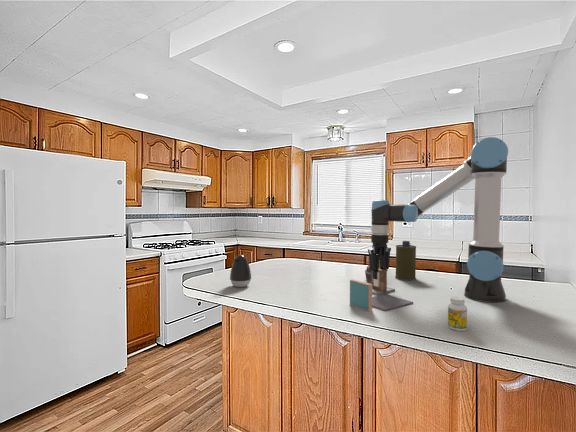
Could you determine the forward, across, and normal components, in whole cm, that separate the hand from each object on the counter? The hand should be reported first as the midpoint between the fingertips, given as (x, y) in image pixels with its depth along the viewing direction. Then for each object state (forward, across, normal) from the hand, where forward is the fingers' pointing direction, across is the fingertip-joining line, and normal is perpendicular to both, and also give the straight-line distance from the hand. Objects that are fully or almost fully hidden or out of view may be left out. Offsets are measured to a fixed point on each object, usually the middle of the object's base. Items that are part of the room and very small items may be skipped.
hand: (379, 285), depth 151 cm
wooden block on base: (+3, 0, 0) cm, 3 cm away
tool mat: (+3, +12, +13) cm, 18 cm away
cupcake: (+3, -15, -16) cm, 22 cm away
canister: (+3, -33, -10) cm, 35 cm away
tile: (+3, +25, +12) cm, 28 cm away
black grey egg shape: (+3, +48, -44) cm, 65 cm away
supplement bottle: (+3, +15, +44) cm, 47 cm away
